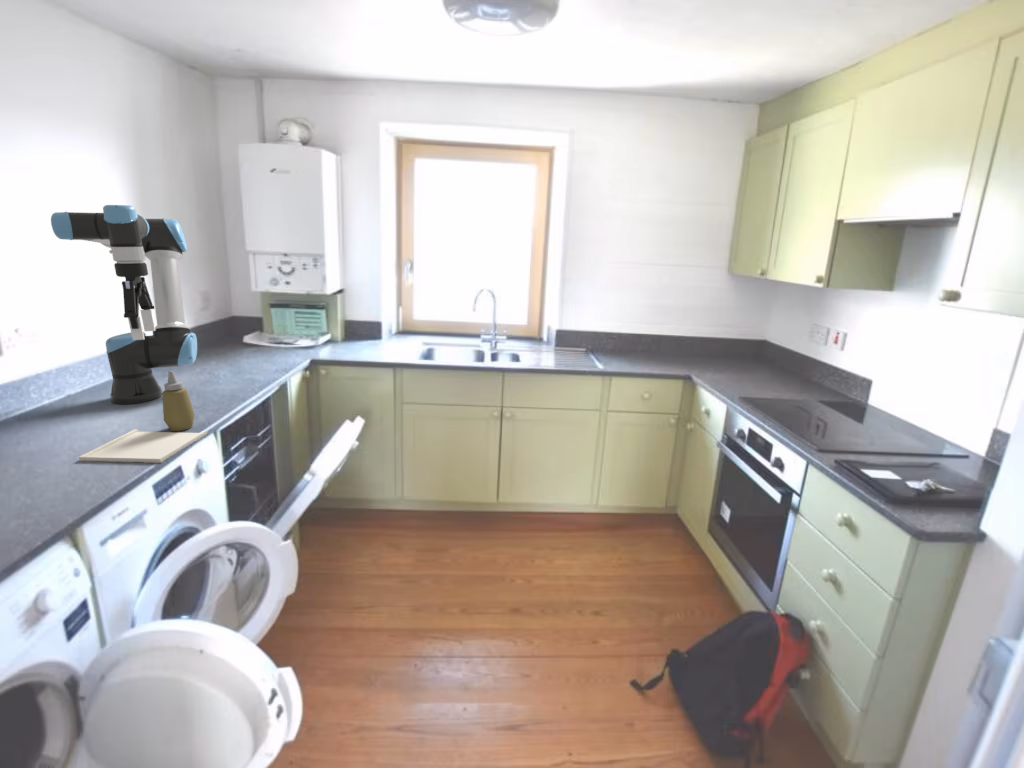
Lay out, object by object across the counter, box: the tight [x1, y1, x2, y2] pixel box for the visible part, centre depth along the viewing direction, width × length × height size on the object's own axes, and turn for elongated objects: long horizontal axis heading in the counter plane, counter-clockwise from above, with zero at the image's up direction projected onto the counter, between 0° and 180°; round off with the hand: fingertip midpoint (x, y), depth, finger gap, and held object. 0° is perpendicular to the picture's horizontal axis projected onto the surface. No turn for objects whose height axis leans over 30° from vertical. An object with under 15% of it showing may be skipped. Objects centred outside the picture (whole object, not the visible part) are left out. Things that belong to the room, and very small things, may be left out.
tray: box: [78, 428, 208, 464], centre depth 145 cm, size 20×22×1 cm
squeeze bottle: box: [161, 370, 195, 432], centre depth 157 cm, size 8×8×18 cm
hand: (144, 335), depth 155 cm, fingers open, 13 cm apart
